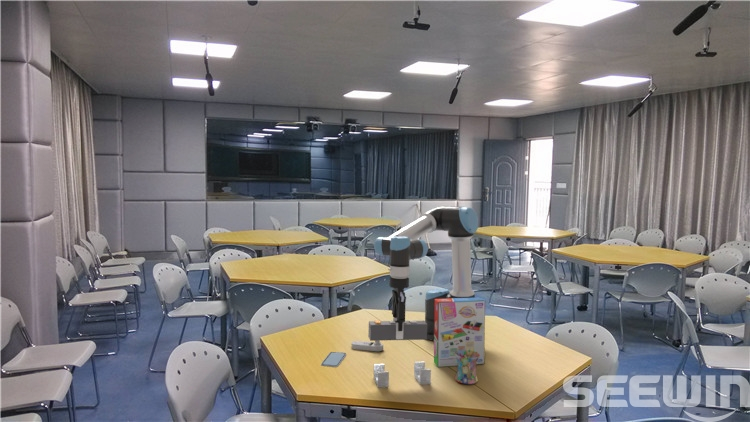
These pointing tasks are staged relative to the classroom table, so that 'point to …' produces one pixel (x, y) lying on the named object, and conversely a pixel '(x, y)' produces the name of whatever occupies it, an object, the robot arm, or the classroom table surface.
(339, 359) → the smartphone
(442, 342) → the game box
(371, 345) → the electronic device
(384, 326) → the power strip
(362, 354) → the classroom table surface
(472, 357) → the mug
